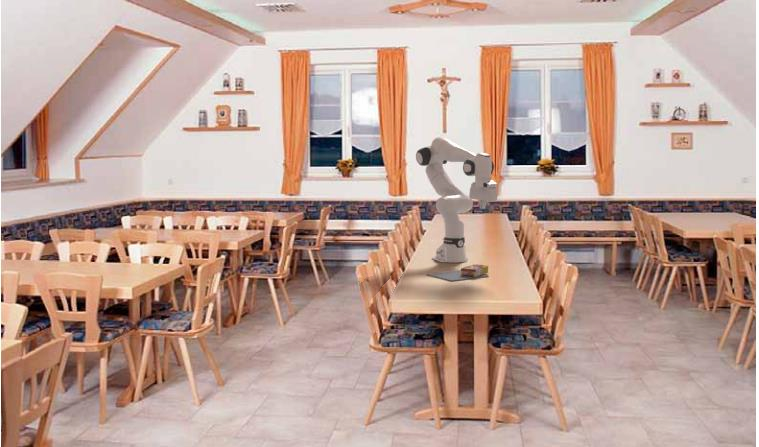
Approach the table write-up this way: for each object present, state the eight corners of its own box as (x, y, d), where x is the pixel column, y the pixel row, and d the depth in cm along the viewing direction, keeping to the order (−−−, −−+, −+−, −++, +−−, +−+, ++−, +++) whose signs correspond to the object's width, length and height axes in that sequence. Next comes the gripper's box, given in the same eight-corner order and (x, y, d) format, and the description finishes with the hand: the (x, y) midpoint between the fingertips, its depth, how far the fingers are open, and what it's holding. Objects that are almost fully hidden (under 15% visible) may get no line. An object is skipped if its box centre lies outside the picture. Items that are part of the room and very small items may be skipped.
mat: (426, 275, 413) (426, 274, 412) (462, 270, 425) (462, 269, 425) (451, 281, 394) (451, 280, 394) (488, 276, 406) (488, 275, 406)
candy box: (473, 271, 419) (460, 275, 407) (473, 264, 419) (460, 267, 406) (488, 273, 414) (475, 277, 402) (488, 265, 414) (475, 269, 401)
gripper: (466, 182, 429) (466, 207, 431) (490, 184, 411) (489, 210, 413) (476, 181, 432) (475, 206, 434) (499, 184, 415) (499, 210, 416)
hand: (482, 208), depth 423 cm, fingers closed
